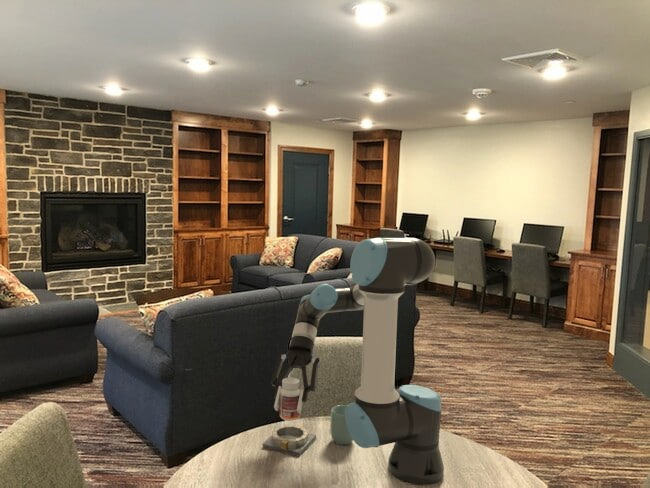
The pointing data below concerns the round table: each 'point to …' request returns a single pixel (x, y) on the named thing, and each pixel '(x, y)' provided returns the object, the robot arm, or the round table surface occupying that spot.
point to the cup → (339, 425)
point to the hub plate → (290, 450)
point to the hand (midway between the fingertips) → (287, 410)
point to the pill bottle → (289, 398)
